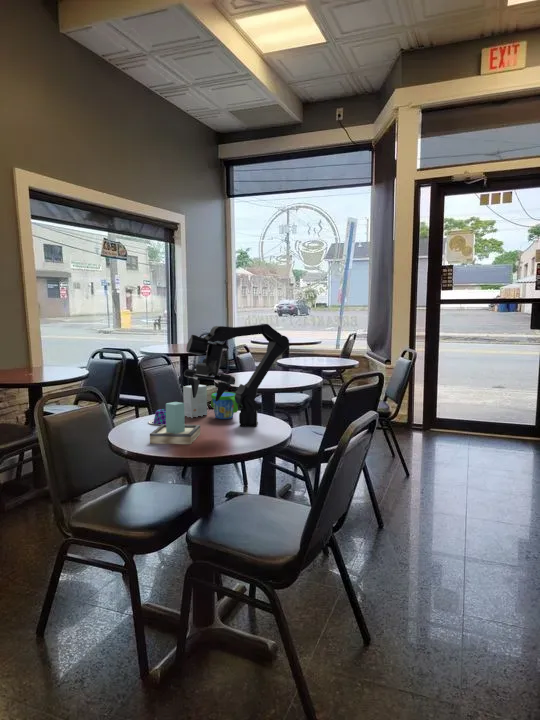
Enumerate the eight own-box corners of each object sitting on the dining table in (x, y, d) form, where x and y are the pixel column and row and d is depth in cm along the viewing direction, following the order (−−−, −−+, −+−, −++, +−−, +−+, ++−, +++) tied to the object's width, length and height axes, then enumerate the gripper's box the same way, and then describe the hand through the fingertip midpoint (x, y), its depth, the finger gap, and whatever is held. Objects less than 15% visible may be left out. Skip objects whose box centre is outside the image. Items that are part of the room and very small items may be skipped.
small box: (199, 413, 207) (198, 384, 206) (207, 415, 202) (207, 385, 201) (183, 416, 201) (182, 386, 200) (191, 418, 197) (191, 387, 196)
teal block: (176, 429, 168) (175, 401, 167) (184, 431, 165) (184, 403, 164) (166, 431, 164) (165, 403, 163) (175, 433, 162) (174, 405, 161)
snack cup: (245, 419, 195) (245, 395, 194) (223, 423, 188) (223, 397, 188) (225, 413, 207) (224, 390, 206) (204, 416, 201) (203, 392, 200)
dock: (200, 433, 171) (200, 424, 171) (190, 444, 157) (190, 434, 157) (162, 433, 172) (162, 424, 172) (150, 443, 159) (149, 433, 158)
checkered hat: (167, 418, 199) (167, 406, 198) (184, 422, 190) (184, 410, 190) (142, 423, 190) (142, 410, 189) (159, 428, 182) (159, 414, 181)
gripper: (181, 351, 172) (172, 393, 169) (227, 356, 166) (219, 400, 163) (194, 357, 182) (186, 397, 180) (239, 363, 176) (231, 404, 174)
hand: (205, 399), depth 174 cm, fingers open, 9 cm apart
